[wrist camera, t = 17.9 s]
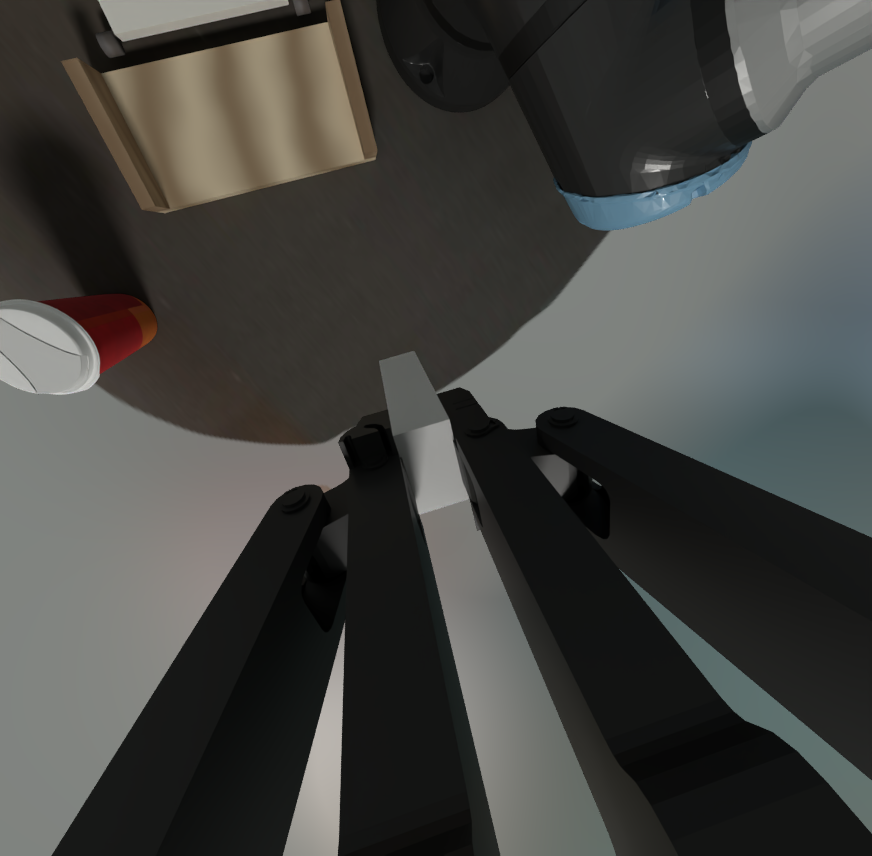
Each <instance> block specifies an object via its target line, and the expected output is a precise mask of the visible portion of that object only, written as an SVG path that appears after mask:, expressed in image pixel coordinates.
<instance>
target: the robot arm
mask: <svg viewBox="0 0 872 856" xmlns="http://www.w3.org/2000/svg"><path fill="white" fill-rule="evenodd" d="M376 2H377V12H378V19H379V24H380V28H381V32H382V36H383V39H384V43H385V45H386V48H387V51H388V53H389V56H390V58H391V60H392V62H393V64H394V66H395V68H396V69H397V71H398V73H399V74H400V76H401V77H402V79H403V80H404V81H405V83H406V84H407V85H408V86H409V87H410V88H411V89H412V90H413V91H414V93H416V94H417V95H418V96H419V97H420V98H421V99H423V100H424V101H426V102H427V103H429V104H430V105H432V106H434V107H437V108H439V109H442V110H445V111H450V112H469V111H473V110H476V109H479V108H482V107H484V106H486V105H487V104H489V103H491V102H492V101H493V100H495V99H496V98H497V97H498V96H499V95H501V94H502V93H503V92H504V91H505V90H506V88H507V87H508V86H509V85H510V86H511V88H512V90H513V92H514V94H515V96H516V98H517V101H518V103H519V105H520V107H521V109H522V111H523V113H524V115H525V117H526V119H527V121H528V123H529V126H530V128H531V130H532V132H533V134H534V136H535V138H536V140H537V142H538V144H539V146H540V149H541V151H542V153H543V155H544V157H545V159H546V161H547V163H548V165H549V167H550V169H551V172H552V174H553V176H554V179H553V181H554V184H555V186H556V188H557V190H558V191H559V192H560V193H561V194H562V195H563V196H564V197H565V199H566V201H567V203H568V205H569V207H570V208H571V210H572V212H573V214H574V216H575V217H576V219H577V220H578V221H579V222H580V223H582V224H584V225H586V226H588V227H590V228H592V229H596V230H619V229H624V228H629V227H634V226H637V225H641V224H644V223H647V222H651V221H654V220H657V219H659V218H662V217H665V216H667V215H669V214H672V213H674V212H676V211H678V210H680V209H682V208H684V207H686V206H688V205H689V204H690V203H691V200H692V199H693V198H696V197H700V196H704V195H707V194H709V193H710V192H712V191H713V190H715V189H716V188H718V187H719V186H721V185H722V184H723V183H725V182H726V181H727V180H728V179H729V178H730V177H731V176H732V175H733V174H735V172H737V171H738V170H739V168H740V167H741V166H742V164H743V162H744V161H745V159H746V157H747V155H748V152H749V148H750V147H751V144H752V140H755V139H757V138H759V137H761V136H763V135H765V134H767V133H769V132H771V131H773V130H775V129H776V128H778V127H779V126H780V125H781V124H782V122H783V121H784V120H785V118H786V117H787V115H788V114H789V112H790V111H791V110H792V108H793V107H794V106H795V104H796V103H797V101H798V100H799V98H800V97H801V96H802V94H803V92H804V91H805V90H806V89H807V88H808V87H809V86H810V85H811V84H812V83H813V82H814V81H815V80H816V79H817V78H818V77H819V76H821V75H823V74H825V73H827V72H828V71H830V70H832V69H834V68H836V67H838V66H840V65H842V64H844V63H845V62H848V61H849V60H851V59H853V58H855V57H857V56H859V55H861V54H863V53H864V52H866V51H868V50H870V49H872V0H376ZM379 363H380V369H381V374H382V379H383V385H384V390H385V396H386V401H387V407H388V410H384V411H381V412H377V413H374V414H371V415H367V416H364V417H362V418H361V420H360V421H359V423H358V424H357V426H356V427H354V428H352V429H350V430H349V431H347V432H346V433H345V434H344V435H343V436H342V437H341V438H340V440H339V442H338V443H339V446H340V448H341V450H342V453H343V455H344V458H345V460H346V462H347V465H348V467H349V469H350V471H349V478H348V479H347V480H346V481H345V482H343V483H342V484H340V485H338V486H337V487H335V488H333V489H331V490H329V491H327V492H325V493H323V491H322V489H321V488H320V487H319V486H317V485H303V486H299V487H295V488H293V489H291V490H289V491H287V492H285V493H284V494H283V495H282V496H280V497H279V498H278V499H276V501H275V502H274V503H273V504H272V505H271V506H270V508H269V510H268V511H267V513H266V514H265V516H264V518H263V519H262V521H261V523H260V524H259V526H258V527H257V529H256V531H255V532H254V534H253V535H252V537H251V538H250V540H249V542H248V543H247V545H246V546H245V548H244V550H243V551H242V553H241V554H240V556H239V558H238V559H237V561H236V562H235V564H234V566H233V567H232V569H231V570H230V572H229V573H228V575H227V577H226V578H225V580H224V582H223V583H222V585H221V586H220V588H219V589H218V591H217V593H216V594H215V596H214V597H213V599H212V601H211V602H210V604H209V605H208V607H207V609H206V610H205V612H204V613H203V615H202V617H201V618H200V620H199V621H198V623H197V625H196V626H195V628H194V629H193V631H192V633H191V634H190V636H189V637H188V639H187V640H186V642H185V644H184V645H183V647H182V648H181V650H180V652H179V653H178V655H177V657H176V658H175V660H174V661H173V663H172V664H171V666H170V668H169V669H168V671H167V672H166V674H165V676H164V677H163V679H162V681H161V682H160V684H159V685H158V687H157V689H156V690H155V691H154V693H153V695H152V696H151V698H150V699H149V701H148V703H147V704H146V706H145V707H144V709H143V711H142V712H141V714H140V715H139V717H138V719H137V720H136V722H135V723H134V725H133V727H132V729H131V730H130V731H129V733H128V735H127V736H126V738H125V739H124V741H123V742H122V744H121V746H120V747H119V749H118V751H117V752H116V754H115V755H114V757H113V758H112V760H111V762H110V763H109V765H108V766H107V768H106V770H105V771H104V773H103V774H102V776H101V778H100V779H99V781H98V782H97V784H96V786H95V787H94V789H93V790H92V792H91V794H90V795H89V797H88V799H87V800H86V801H85V803H84V805H83V807H82V808H81V809H80V811H79V813H78V814H77V816H76V818H75V819H74V821H73V822H72V824H71V825H70V827H69V829H68V830H67V832H66V834H65V835H64V837H63V838H62V840H61V841H60V843H59V845H58V846H57V848H56V849H55V851H54V853H53V854H52V856H283V852H284V848H285V845H286V841H287V837H288V833H289V829H290V826H291V822H292V818H293V814H294V811H295V807H296V803H297V799H298V796H299V792H300V788H301V784H302V780H303V777H304V773H305V769H306V765H307V762H308V758H309V754H310V751H311V746H312V743H313V739H314V735H315V732H316V728H317V724H318V720H319V717H320V713H321V709H322V705H323V702H324V697H325V694H326V690H327V686H328V683H329V679H330V675H331V671H332V668H333V664H334V660H335V656H336V653H337V649H338V645H339V641H340V637H341V634H342V630H343V626H344V623H345V648H344V650H345V651H344V683H343V686H344V687H343V719H342V756H341V791H340V826H339V846H338V856H500V852H499V848H498V843H497V839H496V835H495V831H494V826H493V822H492V818H491V814H490V809H489V805H488V801H487V797H486V792H485V788H484V784H483V780H482V776H481V771H480V767H479V763H478V758H477V754H476V750H475V746H474V742H473V737H472V733H471V729H470V724H469V720H468V716H467V712H466V707H465V703H464V699H463V695H462V690H461V686H460V682H459V677H458V673H457V669H456V665H455V660H454V656H453V652H452V648H451V644H450V639H449V635H448V631H447V626H446V623H445V618H444V614H443V609H442V605H441V601H440V597H439V593H438V588H437V584H436V580H435V575H434V571H433V567H432V563H431V558H430V554H429V550H428V546H427V542H426V538H425V533H424V529H423V525H422V522H421V519H420V516H419V515H420V514H423V513H426V512H429V511H433V510H436V509H439V508H442V507H445V506H448V505H452V504H455V503H458V502H462V501H465V500H468V496H467V493H468V495H469V498H470V502H471V507H472V511H473V515H474V520H475V524H476V528H477V531H478V530H481V532H482V535H483V537H484V539H485V542H486V544H487V546H488V549H489V551H490V554H491V556H492V558H493V561H494V563H495V565H496V568H497V570H498V573H499V575H500V577H501V580H502V582H503V584H504V587H505V589H506V591H507V594H508V596H509V599H510V601H511V603H512V606H513V608H514V610H515V613H516V615H517V617H518V620H519V622H520V625H521V627H522V629H523V632H524V634H525V636H526V639H527V641H528V644H529V646H530V648H531V650H532V653H533V655H534V658H535V660H536V662H537V665H538V667H539V670H540V672H541V674H542V677H543V679H544V681H545V684H546V686H547V688H548V691H549V693H550V696H551V698H552V700H553V703H554V705H555V707H556V710H557V712H558V715H559V717H560V719H561V722H562V724H563V726H564V729H565V731H566V733H567V735H568V738H569V740H570V743H571V745H572V747H573V750H574V752H575V755H576V757H577V759H578V762H579V764H580V766H581V769H582V771H583V774H584V776H585V778H586V780H587V783H588V785H589V788H590V790H591V793H592V795H593V797H594V800H595V802H596V804H597V807H598V809H599V812H600V814H601V816H602V819H603V821H604V823H605V826H606V828H607V831H608V833H609V836H610V838H611V841H612V844H613V847H614V850H615V853H616V856H872V834H871V832H870V831H869V830H868V829H867V828H866V827H865V826H864V824H863V823H862V822H861V821H860V820H859V819H858V817H857V816H856V815H855V814H854V813H853V812H852V811H851V810H850V808H849V807H848V806H847V805H846V804H845V802H844V801H843V800H842V799H841V798H840V797H839V795H838V794H837V793H836V792H835V791H834V790H833V789H832V787H831V786H830V785H829V784H828V783H827V782H826V781H825V780H824V778H823V777H822V776H820V774H819V773H818V772H817V771H816V770H815V769H814V768H813V767H812V766H811V765H810V764H809V763H808V762H807V761H806V760H805V759H804V758H803V757H802V756H801V755H800V754H799V753H798V752H797V751H796V750H795V749H794V748H792V747H791V746H790V745H788V744H787V743H786V742H785V741H783V740H782V739H781V738H780V737H778V736H777V735H775V734H774V733H773V732H771V731H769V730H766V729H764V728H761V727H759V726H757V725H754V724H752V723H749V722H747V721H745V720H744V719H742V718H741V717H740V716H739V715H737V714H736V713H735V712H734V711H733V710H732V709H731V708H730V707H729V706H728V705H727V704H726V702H725V701H724V700H723V699H722V698H721V697H720V696H719V694H718V693H717V692H716V690H715V689H714V688H713V687H712V685H711V684H710V683H709V682H708V681H707V679H706V678H705V677H704V675H703V674H702V673H701V672H700V670H699V669H698V668H697V667H696V665H695V664H694V663H693V662H692V660H691V659H690V658H689V657H688V655H687V654H686V653H685V651H684V650H683V649H682V648H681V646H680V645H679V644H678V643H677V641H676V640H675V639H674V638H673V636H672V635H671V634H670V633H669V631H668V630H667V629H666V628H665V626H664V625H663V624H662V623H661V621H660V620H659V619H658V617H657V616H656V615H655V614H654V612H653V611H652V610H651V609H650V607H649V606H648V605H647V604H646V602H645V601H644V600H643V599H642V597H641V596H640V595H639V594H638V592H637V591H636V590H635V589H634V587H633V586H632V585H631V584H630V582H629V581H628V580H627V578H626V577H625V576H624V575H623V574H622V572H624V573H625V574H626V575H627V576H628V577H630V578H631V579H632V580H633V581H635V582H636V583H637V584H638V585H639V586H640V587H642V588H643V589H644V590H645V591H646V592H648V593H649V594H650V595H651V596H652V597H653V598H655V599H656V600H657V601H658V602H659V603H661V604H662V605H663V606H664V607H665V608H667V609H668V610H669V611H670V612H671V613H673V614H674V615H675V616H676V617H677V618H679V619H680V620H681V621H682V622H683V623H684V624H686V625H687V626H688V627H689V628H691V629H692V630H693V631H694V632H695V633H696V634H698V635H699V636H700V637H701V638H702V639H704V640H705V641H706V642H707V643H708V644H710V645H711V646H712V647H713V648H714V649H716V650H717V651H718V652H719V653H720V654H722V655H723V656H724V657H725V658H726V659H728V660H729V661H730V662H731V663H732V664H734V665H735V666H736V667H737V668H738V669H739V670H741V671H742V672H743V673H744V674H745V675H747V676H748V677H749V678H750V679H751V680H753V681H754V682H755V683H756V684H757V685H759V686H760V687H761V688H762V689H763V690H765V691H766V692H767V693H768V694H769V695H770V696H772V697H773V698H774V699H775V700H777V701H778V702H779V703H780V704H781V705H782V706H784V707H785V708H786V709H787V710H788V711H790V712H791V713H792V714H793V715H795V716H796V717H797V718H798V719H799V720H800V721H802V722H803V723H804V724H805V725H806V726H808V727H809V728H810V729H811V730H812V731H814V732H815V733H816V734H817V735H818V736H820V737H821V738H822V739H823V740H824V741H825V742H827V743H828V744H829V745H831V747H833V748H834V749H835V750H836V751H837V752H839V753H840V754H841V755H842V756H843V757H845V758H846V759H847V760H848V761H849V762H851V763H852V764H853V765H854V766H855V767H857V768H858V769H859V770H860V771H861V772H862V773H864V774H865V775H866V776H867V777H868V778H870V779H871V780H872V538H871V537H869V536H867V535H865V534H862V533H860V532H858V531H856V530H853V529H851V528H849V527H846V526H844V525H842V524H839V523H837V522H835V521H833V520H830V519H828V518H826V517H824V516H822V515H819V514H817V513H815V512H812V511H810V510H808V509H806V508H803V507H801V506H799V505H797V504H794V503H792V502H790V501H787V500H785V499H783V498H780V497H778V496H776V495H774V494H772V493H769V492H767V491H765V490H763V489H760V488H758V487H756V486H754V485H751V484H749V483H747V482H744V481H742V480H740V479H738V478H736V477H733V476H731V475H729V474H726V473H724V472H722V471H719V470H717V469H715V468H713V467H711V466H708V465H706V464H704V463H702V462H699V461H697V460H695V459H693V458H690V457H688V456H686V455H683V454H681V453H679V452H677V451H674V450H672V449H670V448H667V447H665V446H663V445H661V444H659V443H656V442H654V441H652V440H650V439H647V438H645V437H643V436H640V435H638V434H636V433H633V432H631V431H629V430H627V429H625V428H622V427H620V426H618V425H615V424H613V423H611V422H609V421H606V420H604V419H602V418H600V417H597V416H595V415H593V414H590V413H588V412H586V411H584V410H581V409H577V408H571V407H560V408H558V407H557V408H553V409H550V410H547V411H545V412H544V413H542V414H540V415H539V416H538V417H537V419H536V428H530V429H520V430H512V429H507V427H506V426H505V425H504V424H503V423H502V422H501V421H499V420H498V419H495V418H491V417H488V416H487V414H486V413H485V412H484V410H483V409H482V408H481V406H480V405H479V404H478V402H477V401H476V400H475V399H474V397H473V396H472V394H471V393H470V391H468V390H465V389H462V388H456V389H453V390H449V391H446V392H443V393H439V394H436V392H435V390H434V388H433V387H432V385H431V383H430V381H429V379H428V377H427V375H426V373H425V371H424V369H423V367H422V365H421V363H420V361H419V359H418V358H417V356H416V354H415V352H414V351H412V352H408V353H405V354H401V355H398V356H394V357H391V358H387V359H384V360H380V361H379ZM592 478H593V479H595V480H596V481H597V482H599V483H600V484H601V485H602V486H600V485H598V484H596V483H595V482H593V481H592ZM466 491H467V492H466ZM619 569H620V570H621V571H622V572H621V571H620V570H619Z"/></svg>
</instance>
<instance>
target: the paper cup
mask: <svg viewBox="0 0 872 856" xmlns="http://www.w3.org/2000/svg"><path fill="white" fill-rule="evenodd" d="M156 332H157V320H156V317H155V315H154V313H153V312H152V311H151V309H150V308H149V307H148V306H147V305H146V304H145V303H144V302H142V301H141V300H139V299H137V298H135V297H133V296H130V295H126V294H103V295H93V296H83V297H74V298H64V299H55V300H46V301H37V302H36V301H30V300H20V299H16V300H7V301H2V302H0V380H2V381H4V382H6V383H7V384H9V385H11V386H13V387H16V388H18V389H21V390H24V391H27V392H31V393H37V394H41V393H42V394H44V393H48V394H71V393H75V392H79V391H84V390H87V389H88V388H90V387H91V386H93V385H94V383H95V382H96V381H97V380H98V378H99V376H100V374H101V373H102V372H104V371H105V370H107V369H109V368H110V367H112V366H113V365H115V364H116V363H118V362H120V361H121V360H123V359H124V358H126V357H127V356H129V355H130V354H132V353H134V352H135V351H137V350H138V349H140V348H141V347H143V346H144V345H145V344H147V343H148V342H149V341H151V340H152V339H153V338H154V336H155V335H156Z"/></svg>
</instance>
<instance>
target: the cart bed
mask: <svg viewBox="0 0 872 856" xmlns="http://www.w3.org/2000/svg"><path fill="white" fill-rule="evenodd" d="M293 3H294V7H295V10H296V14H297V16H300V15H304V14H309V13H311V11H310V7H309V3H308V0H293ZM325 5H326V13H327V20H328V22H325V23H321V24H317V25H312V26H308V27H303V28H299V29H295V30H290V31H286V32H281V33H277V34H273V35H268V36H264V37H259V38H255V39H251V40H246V41H242V42H238V43H233V44H229V45H224V46H220V47H216V48H211V49H207V50H202V51H198V52H194V53H189V54H185V55H180V56H176V57H172V58H167V59H163V60H158V61H154V62H150V63H145V64H141V65H136V66H132V67H128V68H123V69H119V70H114V71H110V72H106V73H99V72H98V71H96V70H95V69H93V68H92V67H90V66H89V65H87V64H86V63H84V62H83V61H81V60H80V59H78V58H73V59H69V60H65V61H61V62H62V64H63V66H64V68H65V69H66V71H67V73H68V75H69V77H70V79H71V80H72V82H73V84H74V86H75V88H76V90H77V91H78V93H79V95H80V97H81V99H82V101H83V102H84V104H85V106H86V108H87V110H88V112H89V113H90V115H91V117H92V119H93V121H94V123H95V124H96V126H97V128H98V130H99V132H100V134H101V135H102V137H103V139H104V141H105V143H106V144H107V146H108V148H109V150H110V152H111V154H112V155H113V157H114V159H115V161H116V163H117V165H118V166H119V168H120V170H121V172H122V174H123V176H124V177H125V179H126V181H127V183H128V185H129V187H130V188H131V190H132V192H133V194H134V196H135V198H136V199H137V201H138V203H139V205H140V207H141V209H142V210H148V211H154V212H161V213H167V212H171V211H175V210H179V209H183V208H187V207H191V206H195V205H199V204H203V203H207V202H211V201H215V200H219V199H223V198H227V197H231V196H235V195H239V194H242V193H246V192H250V191H254V190H258V189H262V188H266V187H270V186H274V185H278V184H282V183H286V182H290V181H294V180H298V179H302V178H306V177H310V176H314V175H317V174H321V173H325V172H329V171H333V170H337V169H341V168H345V167H349V166H353V165H357V164H361V163H365V162H369V161H373V160H375V159H376V154H377V147H376V143H375V139H374V135H373V131H372V127H371V123H370V119H369V115H368V111H367V107H366V103H365V99H364V95H363V91H362V87H361V83H360V79H359V75H358V71H357V67H356V63H355V59H354V55H353V51H352V47H351V43H350V39H349V34H348V30H347V26H346V22H345V18H344V14H343V10H342V6H341V2H340V0H332V1H328V2H325ZM96 38H97V41H98V43H99V45H100V46H101V48H102V49H103V51H104V52H105V54H106V55H107V56H108V57H109V58H113V57H118V56H122V55H125V50H124V48H123V46H122V44H121V42H120V40H119V39H118V37H117V36H116V35H115V34H114V32H113V31H112V30H110V31H106V32H101V33H97V34H96Z"/></svg>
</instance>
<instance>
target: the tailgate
mask: <svg viewBox="0 0 872 856" xmlns="http://www.w3.org/2000/svg"><path fill="white" fill-rule="evenodd" d="M98 1H99V3H100V5H101V7H102V9H103V11H104V13H105V16H106V18H107V20H108V22H109V24H110V26H111V28H112V30H113V32H114V34H115V35H116V36H117V37H118V38H119V39H120V40H122V41H123V42H124V41H129V40H133V39H138V38H142V37H147V36H151V35H156V34H160V33H164V32H169V31H173V30H178V29H182V28H187V27H191V26H196V25H200V24H205V23H209V22H214V21H218V20H223V19H227V18H232V17H236V16H241V15H245V14H250V13H254V12H259V11H263V10H268V9H272V8H277V7H281V6H286V5H289V3H288V0H98Z"/></svg>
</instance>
